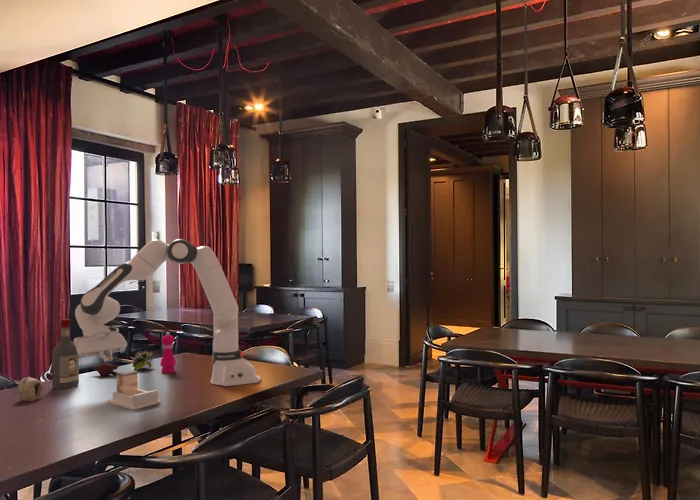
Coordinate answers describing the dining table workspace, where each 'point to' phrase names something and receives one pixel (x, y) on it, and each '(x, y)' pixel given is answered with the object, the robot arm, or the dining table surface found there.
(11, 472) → the dining table surface
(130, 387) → the light wood tall block
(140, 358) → the passion flower
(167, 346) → the pepper mill
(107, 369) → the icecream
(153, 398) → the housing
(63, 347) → the liquor
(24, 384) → the tan rounded lump
